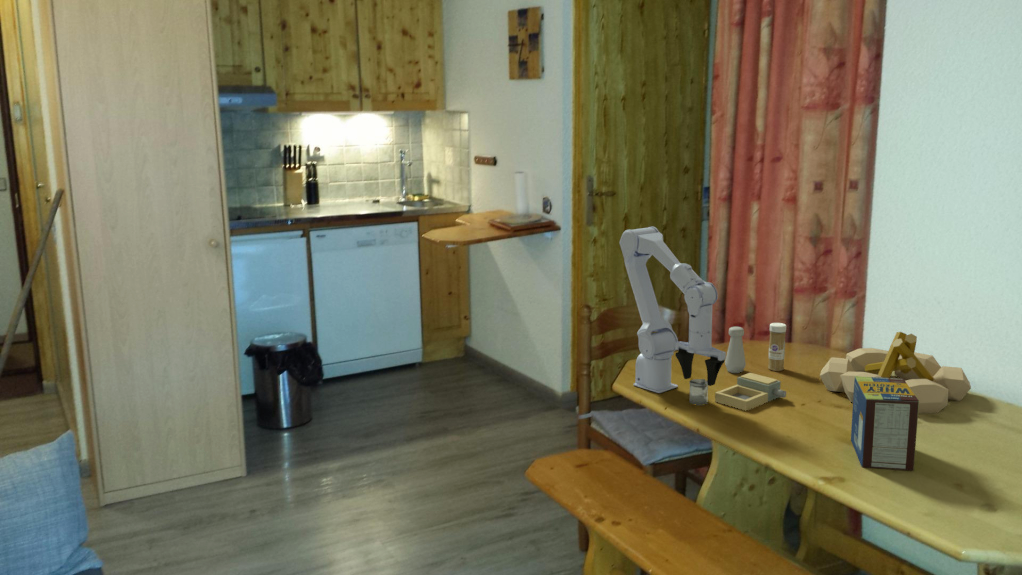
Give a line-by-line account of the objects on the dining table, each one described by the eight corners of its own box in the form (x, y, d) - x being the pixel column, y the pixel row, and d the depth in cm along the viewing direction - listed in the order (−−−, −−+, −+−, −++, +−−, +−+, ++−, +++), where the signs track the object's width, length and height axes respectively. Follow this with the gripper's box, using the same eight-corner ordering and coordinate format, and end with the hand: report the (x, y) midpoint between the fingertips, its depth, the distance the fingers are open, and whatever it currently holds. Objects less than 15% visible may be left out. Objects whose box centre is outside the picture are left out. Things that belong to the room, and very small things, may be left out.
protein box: (898, 443, 193) (904, 377, 189) (914, 471, 178) (920, 401, 175) (849, 440, 195) (853, 375, 192) (860, 467, 180) (865, 398, 177)
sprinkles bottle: (767, 370, 246) (769, 325, 243) (768, 366, 250) (770, 321, 247) (783, 372, 244) (786, 326, 241) (784, 367, 248) (786, 322, 246)
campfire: (928, 426, 202) (934, 357, 199) (799, 393, 228) (802, 331, 224) (986, 392, 225) (993, 329, 221) (862, 365, 250) (866, 308, 246)
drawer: (714, 401, 221) (715, 384, 220) (748, 388, 231) (749, 371, 230) (756, 414, 212) (757, 395, 211) (789, 400, 221) (790, 382, 220)
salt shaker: (745, 374, 243) (747, 330, 240) (725, 373, 244) (726, 329, 241) (744, 368, 248) (746, 325, 246) (724, 367, 249) (725, 324, 247)
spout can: (685, 402, 222) (685, 378, 220) (696, 397, 225) (697, 374, 223) (700, 406, 218) (700, 382, 217) (711, 402, 221) (712, 378, 220)
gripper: (667, 328, 220) (667, 378, 223) (714, 338, 209) (712, 391, 212) (685, 323, 225) (684, 372, 228) (731, 333, 214) (729, 385, 217)
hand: (699, 381), depth 220 cm, fingers open, 7 cm apart
